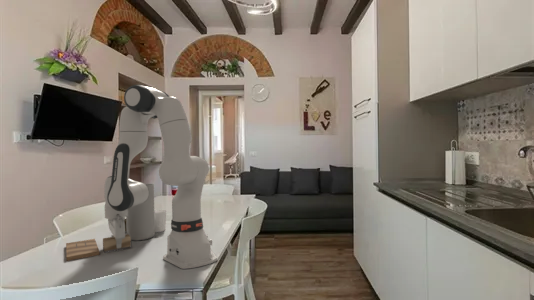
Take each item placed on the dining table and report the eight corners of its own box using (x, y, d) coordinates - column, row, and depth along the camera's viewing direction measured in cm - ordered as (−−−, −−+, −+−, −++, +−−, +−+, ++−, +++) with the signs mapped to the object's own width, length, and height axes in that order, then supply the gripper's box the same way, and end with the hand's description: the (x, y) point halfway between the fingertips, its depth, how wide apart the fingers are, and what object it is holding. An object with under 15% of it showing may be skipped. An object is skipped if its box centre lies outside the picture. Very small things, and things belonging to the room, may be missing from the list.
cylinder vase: (144, 241, 138) (143, 187, 138) (120, 240, 141) (119, 186, 141) (159, 233, 151) (158, 183, 150) (137, 233, 153) (136, 183, 153)
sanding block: (130, 248, 130) (130, 236, 130) (104, 253, 124) (104, 241, 124) (128, 245, 134) (128, 234, 134) (103, 250, 128) (102, 238, 128)
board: (99, 254, 122) (99, 251, 122) (66, 260, 116) (66, 256, 116) (94, 241, 139) (94, 238, 139) (66, 246, 133) (66, 243, 133)
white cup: (169, 228, 161) (168, 209, 161) (162, 232, 153) (162, 212, 153) (154, 228, 161) (154, 209, 161) (147, 232, 154) (147, 212, 153)
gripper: (128, 215, 122) (129, 250, 122) (120, 208, 139) (121, 238, 139) (111, 218, 119) (112, 253, 119) (105, 209, 136) (106, 240, 136)
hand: (117, 244), depth 129 cm, fingers open, 8 cm apart
